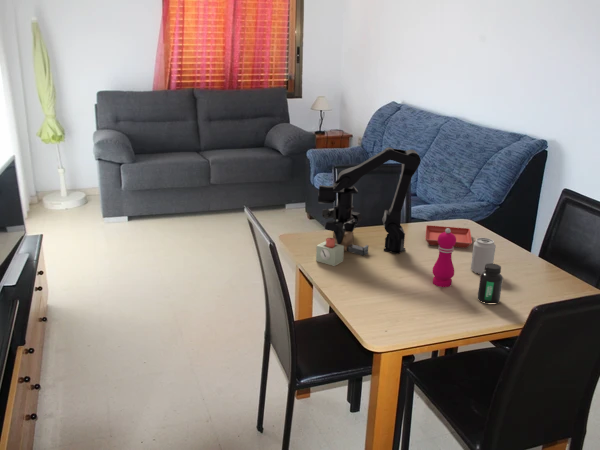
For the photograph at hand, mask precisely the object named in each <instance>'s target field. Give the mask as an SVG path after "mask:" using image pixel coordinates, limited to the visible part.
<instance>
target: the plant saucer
mask: <svg viewBox="0 0 600 450" xmlns="http://www.w3.org/2000/svg"><path fill="white" fill-rule="evenodd" d="M447 228H449V229H450V230H451V232H450V233H452V234H454V235H455V237H456V244H455V245H454V246H453V247H454V248H460V249H466V248H468V247H470V245H472V244H473V241H472V234H471V229H470V228H469V227H466V228H465V227H455V226H443V225H425V236H424V239H425V241H426V243H427V244H428V245H430V246H439V243H438V236H439V235H440V234H441V233H443V232H445V230H446V229H447Z"/></svg>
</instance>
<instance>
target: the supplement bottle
mask: <svg viewBox="0 0 600 450" xmlns="http://www.w3.org/2000/svg"><path fill="white" fill-rule="evenodd" d="M501 270H502V266H501V265H499V264H497V263H494V262H493V263H488V264H486V265H485V269H484V272H483V273H482V274H480V277H479V282H478V283H479V284H478V290H477V291H478V292H477V300H478V299H479V300H480V301H482V302H485V303H498V302H499V303H500V300H501V294H502V287H503V283H504V282H503V280H504V277H503V275H502V274H501V272H502V271H501ZM479 300H478V301H479ZM480 301H479V302H480ZM482 302H481V303H482ZM499 303H498V304H499Z"/></svg>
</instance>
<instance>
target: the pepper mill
mask: <svg viewBox="0 0 600 450" xmlns="http://www.w3.org/2000/svg"><path fill="white" fill-rule="evenodd" d="M450 232H451V230H450V229H449V228H447V229H446V230H445V232H443V233H441V234H440V235H439V236H438V243H439V246H438V245H437V246H438V248H437V249H438V251H439V252H438V256H437V260H436V261H435V263H434V265H433V267H432V272H431V273H432V275H433V277H432V284H433V285H434V286H436V287H439V288H450V287H452V284H453V280H452V278H453V277H454V276H455V268H454V263H453V261H452V254H453V252H454V249H455V247H453V246H454V245H455V244H456V237H455V235H454V234H452V233H450Z"/></svg>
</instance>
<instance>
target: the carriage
mask: <svg viewBox="0 0 600 450" xmlns="http://www.w3.org/2000/svg"><path fill="white" fill-rule="evenodd" d="M332 232H333V233H332V238H334V239H335V244H338V243H337V240H336V236H335V233H334V231H332ZM353 243H354V232H350V231H345V234H344V236H343V239H342V242H341V244H339V245H342V246H344V252H348V251H347V246H349V245H350V244H353ZM353 245H354V244H353Z"/></svg>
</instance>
